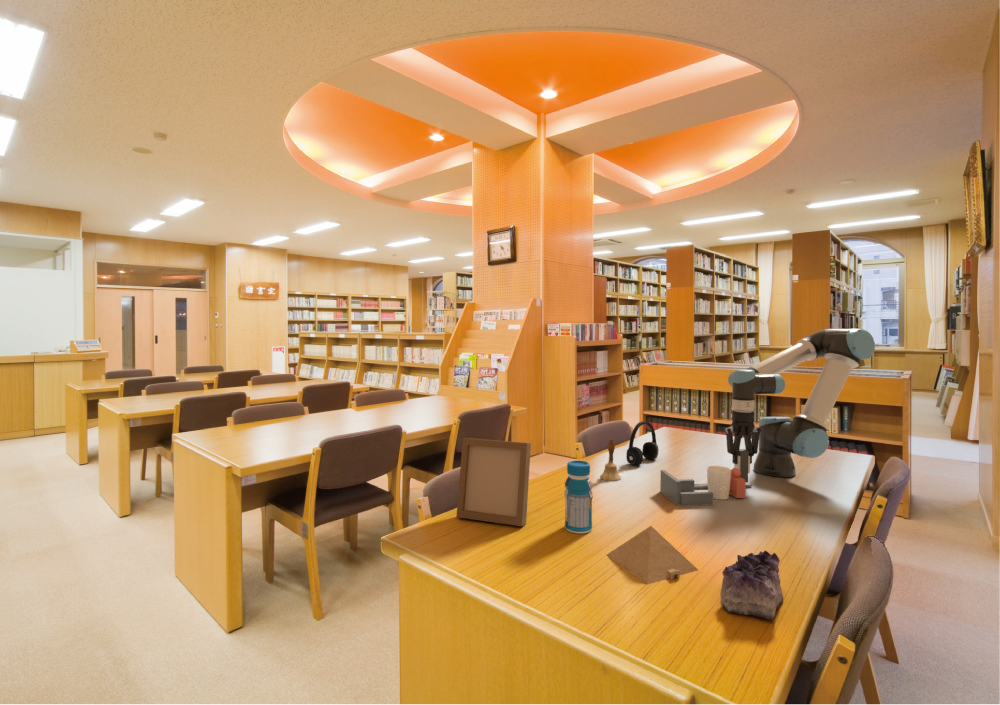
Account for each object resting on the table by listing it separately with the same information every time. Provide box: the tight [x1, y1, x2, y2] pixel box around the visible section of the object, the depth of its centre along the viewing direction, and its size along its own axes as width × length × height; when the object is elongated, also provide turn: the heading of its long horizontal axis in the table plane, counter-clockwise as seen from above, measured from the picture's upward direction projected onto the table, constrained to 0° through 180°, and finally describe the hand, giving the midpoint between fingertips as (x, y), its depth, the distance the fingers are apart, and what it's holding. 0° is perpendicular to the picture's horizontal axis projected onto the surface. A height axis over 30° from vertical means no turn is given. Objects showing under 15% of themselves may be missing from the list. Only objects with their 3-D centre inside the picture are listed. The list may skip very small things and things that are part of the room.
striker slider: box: [729, 448, 749, 499], centre depth 173 cm, size 12×15×14 cm
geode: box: [719, 550, 784, 620], centre depth 105 cm, size 20×12×10 cm, turn 140°
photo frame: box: [456, 437, 532, 527], centre depth 153 cm, size 15×22×25 cm
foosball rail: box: [694, 482, 752, 490], centre depth 179 cm, size 30×3×1 cm, turn 94°
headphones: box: [626, 421, 659, 467], centre depth 213 cm, size 20×7×18 cm, turn 133°
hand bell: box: [600, 438, 622, 482], centre depth 191 cm, size 8×8×16 cm
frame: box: [659, 469, 714, 507], centre depth 168 cm, size 12×15×8 cm
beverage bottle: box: [563, 459, 594, 535], centre depth 142 cm, size 8×8×20 cm
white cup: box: [706, 465, 732, 500], centre depth 169 cm, size 8×8×10 cm
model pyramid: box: [606, 525, 699, 585], centre depth 121 cm, size 17×17×10 cm
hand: (741, 472), depth 179 cm, fingers closed on striker slider, 3 cm apart
